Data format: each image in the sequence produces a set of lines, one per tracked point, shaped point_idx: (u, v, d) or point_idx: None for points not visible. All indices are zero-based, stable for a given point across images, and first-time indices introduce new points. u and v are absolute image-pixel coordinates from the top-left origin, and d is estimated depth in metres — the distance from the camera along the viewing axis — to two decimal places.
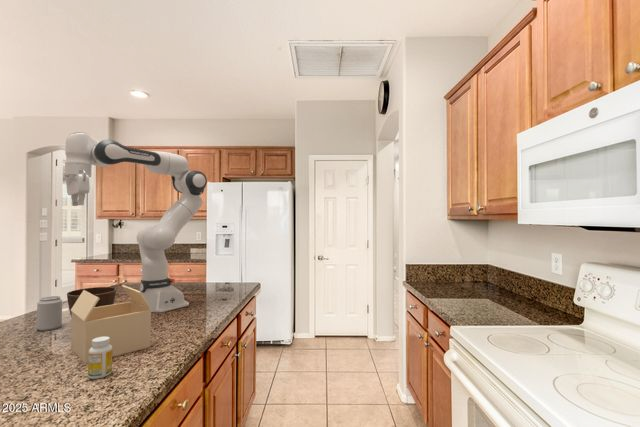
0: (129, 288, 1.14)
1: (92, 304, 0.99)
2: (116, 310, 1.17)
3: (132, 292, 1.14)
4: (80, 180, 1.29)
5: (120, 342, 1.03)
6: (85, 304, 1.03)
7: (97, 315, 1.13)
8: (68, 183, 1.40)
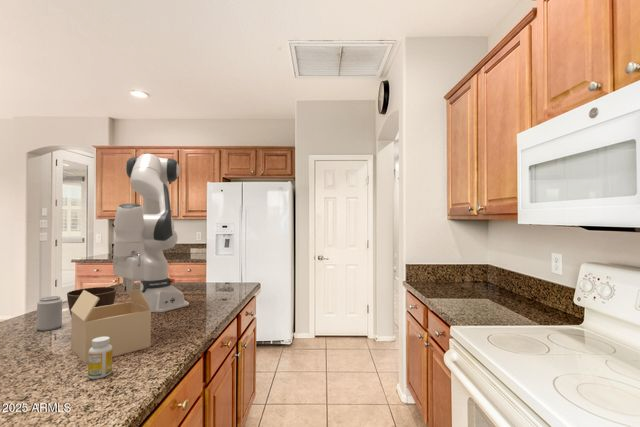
0: None
1: (92, 304, 0.99)
2: (116, 310, 1.17)
3: (133, 292, 1.14)
4: (134, 266, 1.06)
5: (120, 342, 1.03)
6: (85, 304, 1.03)
7: (97, 315, 1.13)
8: (115, 262, 1.17)
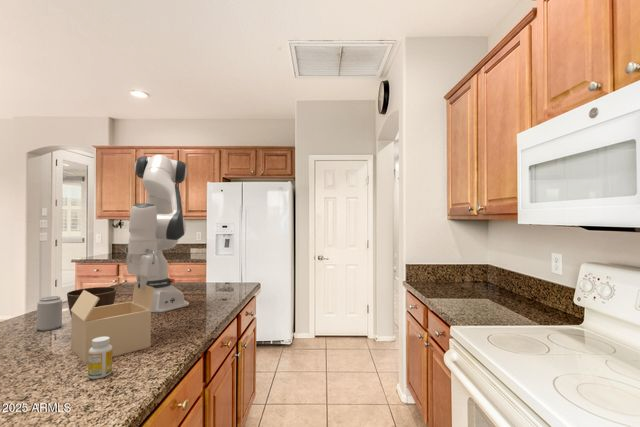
0: None
1: (92, 304, 0.99)
2: (116, 310, 1.17)
3: None
4: (149, 263, 1.09)
5: (120, 342, 1.03)
6: (85, 304, 1.03)
7: (97, 315, 1.13)
8: (129, 260, 1.20)
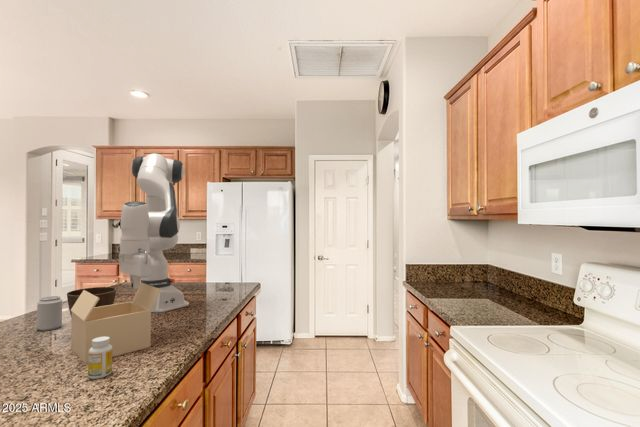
0: (149, 285, 1.19)
1: (92, 304, 0.99)
2: (116, 310, 1.17)
3: (148, 289, 1.18)
4: (141, 263, 1.07)
5: (120, 342, 1.03)
6: (85, 304, 1.03)
7: (97, 315, 1.13)
8: (121, 259, 1.18)
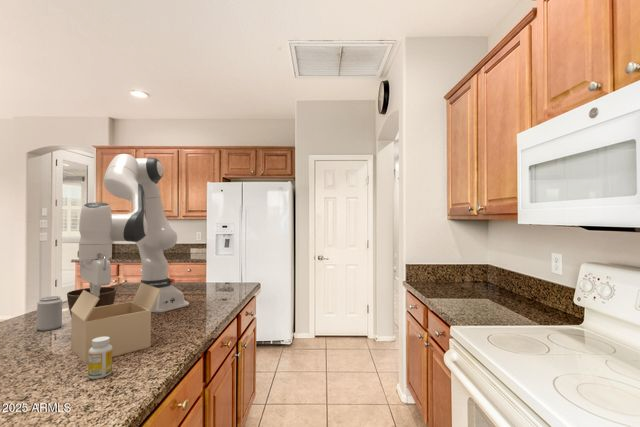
0: (149, 285, 1.19)
1: (92, 304, 0.99)
2: (116, 310, 1.17)
3: (148, 289, 1.18)
4: (99, 270, 0.98)
5: (120, 342, 1.03)
6: (85, 304, 1.03)
7: (97, 315, 1.13)
8: (82, 264, 1.10)
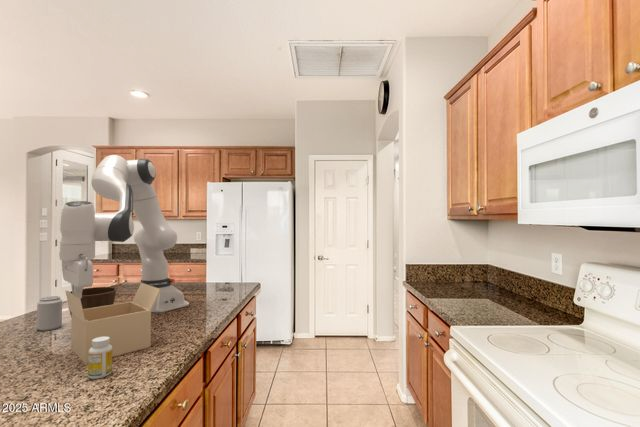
0: (149, 285, 1.19)
1: (78, 305, 0.97)
2: (116, 310, 1.17)
3: (148, 289, 1.18)
4: (80, 271, 0.95)
5: (120, 342, 1.03)
6: (74, 305, 1.01)
7: (97, 315, 1.13)
8: (64, 265, 1.06)
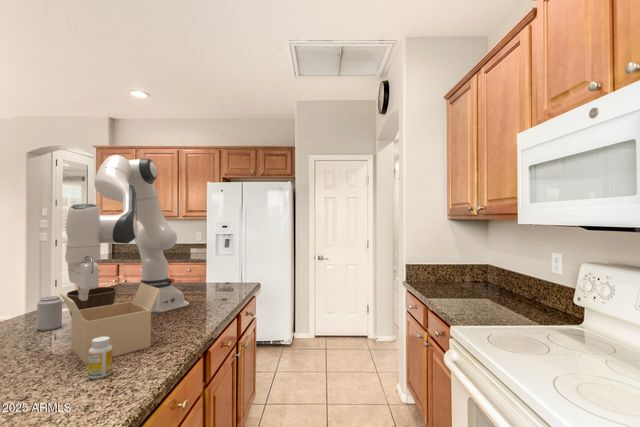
0: (149, 285, 1.19)
1: (74, 308, 0.96)
2: (116, 310, 1.17)
3: (148, 289, 1.18)
4: (86, 273, 0.96)
5: (120, 342, 1.03)
6: (71, 307, 1.00)
7: (97, 315, 1.13)
8: (70, 267, 1.07)
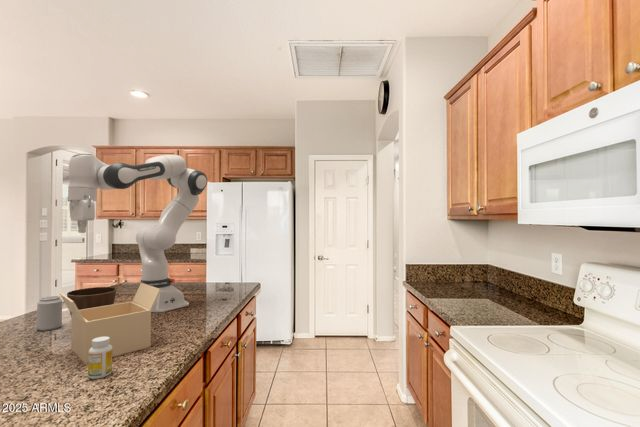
0: (149, 285, 1.19)
1: (74, 308, 0.96)
2: (116, 310, 1.17)
3: (148, 289, 1.18)
4: (85, 207, 1.18)
5: (120, 342, 1.03)
6: (71, 307, 1.00)
7: (97, 315, 1.13)
8: (71, 208, 1.29)
